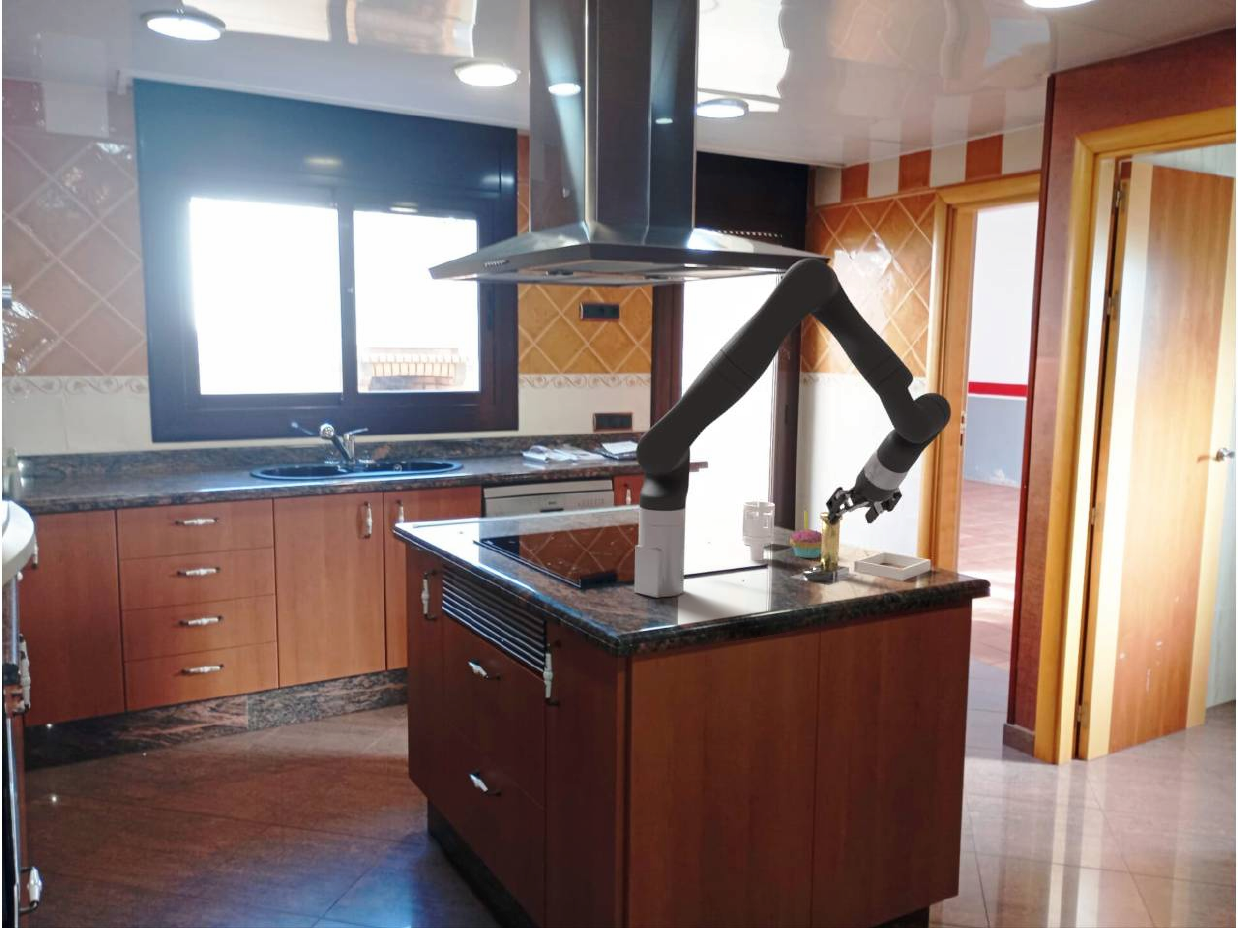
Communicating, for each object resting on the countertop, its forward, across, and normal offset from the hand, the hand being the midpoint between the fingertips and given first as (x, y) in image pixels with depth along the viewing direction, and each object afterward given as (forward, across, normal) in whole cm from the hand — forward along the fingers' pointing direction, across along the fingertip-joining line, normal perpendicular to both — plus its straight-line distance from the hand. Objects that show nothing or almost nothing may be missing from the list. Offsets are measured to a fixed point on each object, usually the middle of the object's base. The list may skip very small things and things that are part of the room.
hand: (849, 520), depth 200 cm
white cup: (+41, -1, -21) cm, 46 cm away
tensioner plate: (+14, +2, +6) cm, 15 cm away
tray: (+15, -15, +5) cm, 22 cm away
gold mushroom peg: (+14, 0, +4) cm, 15 cm away
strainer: (+27, +9, -7) cm, 29 cm away
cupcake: (+28, -5, -8) cm, 29 cm away
